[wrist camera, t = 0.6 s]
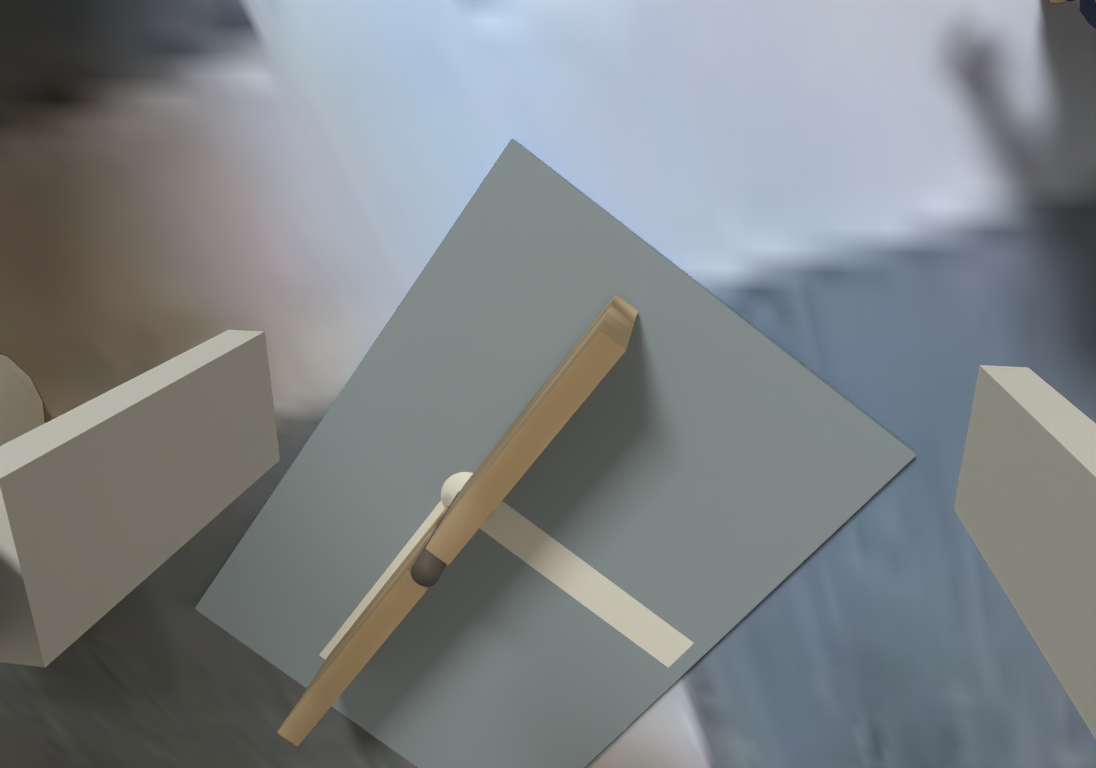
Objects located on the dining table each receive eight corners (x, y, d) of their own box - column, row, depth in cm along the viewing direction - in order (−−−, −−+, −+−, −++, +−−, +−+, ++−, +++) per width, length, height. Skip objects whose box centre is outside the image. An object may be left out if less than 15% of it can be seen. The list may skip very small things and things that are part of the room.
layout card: (198, 604, 46) (194, 609, 46) (513, 138, 35) (511, 139, 34) (514, 829, 47) (512, 835, 47) (914, 450, 36) (916, 454, 36)
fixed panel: (329, 653, 45) (277, 732, 39) (447, 504, 41) (407, 569, 35) (347, 666, 45) (297, 747, 39) (467, 519, 41) (430, 586, 35)
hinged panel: (450, 501, 40) (405, 574, 34) (616, 293, 35) (597, 334, 29) (470, 516, 40) (428, 591, 34) (637, 310, 35) (624, 355, 29)
